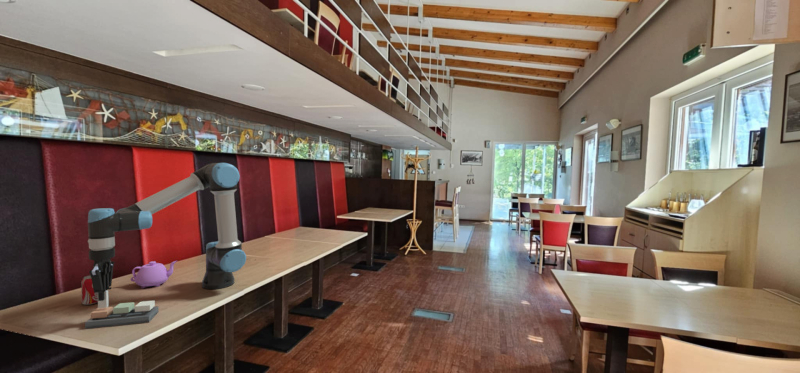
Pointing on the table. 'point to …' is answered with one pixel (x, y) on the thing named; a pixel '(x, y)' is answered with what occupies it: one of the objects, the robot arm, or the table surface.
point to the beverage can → (88, 291)
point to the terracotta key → (101, 313)
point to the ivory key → (144, 306)
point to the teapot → (152, 274)
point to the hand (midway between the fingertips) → (103, 307)
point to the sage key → (123, 308)
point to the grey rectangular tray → (122, 319)
